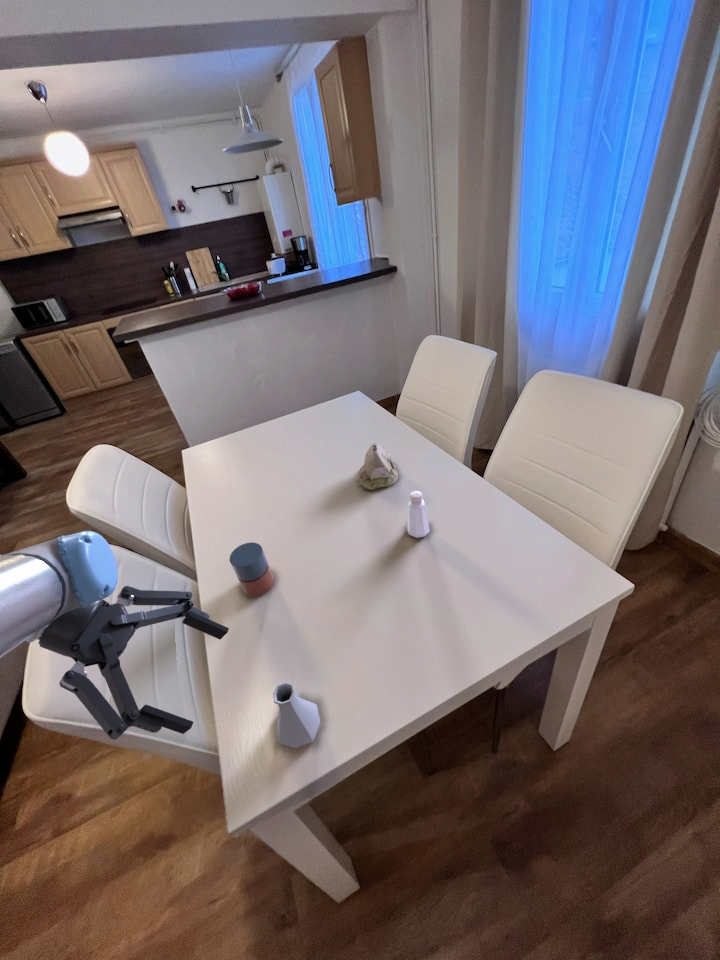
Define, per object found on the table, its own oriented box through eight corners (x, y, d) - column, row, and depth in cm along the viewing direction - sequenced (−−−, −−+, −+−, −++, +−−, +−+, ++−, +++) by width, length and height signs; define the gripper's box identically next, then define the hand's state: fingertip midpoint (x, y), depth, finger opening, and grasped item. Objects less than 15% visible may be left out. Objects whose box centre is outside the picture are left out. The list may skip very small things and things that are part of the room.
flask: (318, 748, 61) (304, 718, 55) (272, 750, 62) (254, 720, 56) (322, 699, 67) (310, 667, 61) (280, 701, 68) (264, 670, 62)
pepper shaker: (434, 531, 95) (433, 495, 89) (415, 541, 94) (413, 505, 87) (420, 519, 99) (418, 484, 93) (402, 528, 98) (399, 493, 91)
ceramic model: (399, 487, 111) (396, 457, 105) (359, 491, 112) (353, 461, 106) (396, 460, 122) (393, 431, 117) (360, 463, 123) (355, 435, 118)
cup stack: (262, 600, 86) (249, 570, 80) (236, 591, 89) (222, 562, 83) (280, 575, 91) (268, 546, 85) (255, 568, 94) (243, 539, 88)
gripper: (-22, 708, 39) (180, 772, 46) (119, 531, 59) (246, 593, 66) (-31, 730, 43) (157, 786, 50) (105, 557, 63) (226, 613, 70)
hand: (208, 676), depth 58 cm, fingers open, 13 cm apart
